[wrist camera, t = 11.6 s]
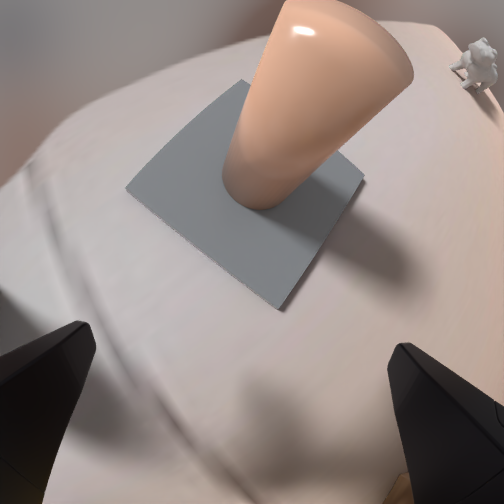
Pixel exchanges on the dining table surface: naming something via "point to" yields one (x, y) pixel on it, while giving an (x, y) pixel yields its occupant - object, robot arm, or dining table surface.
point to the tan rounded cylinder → (310, 97)
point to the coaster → (234, 214)
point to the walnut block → (400, 491)
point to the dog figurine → (478, 65)
